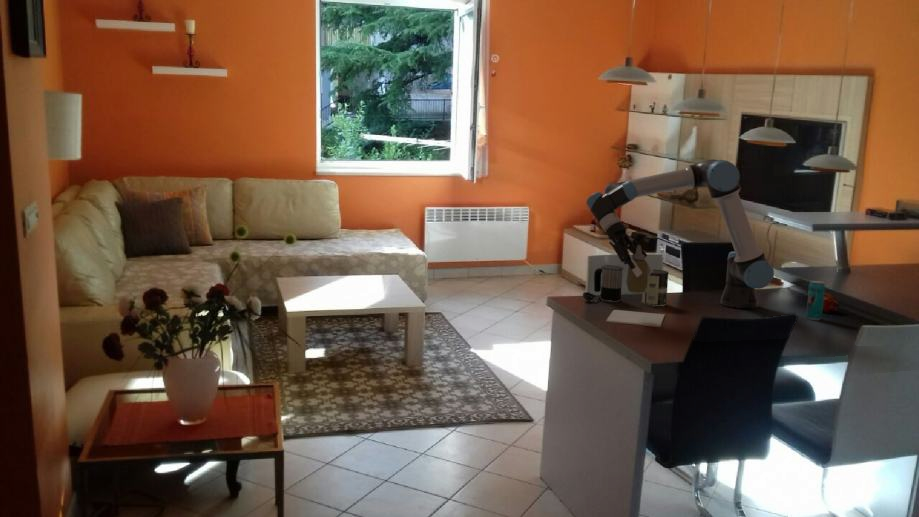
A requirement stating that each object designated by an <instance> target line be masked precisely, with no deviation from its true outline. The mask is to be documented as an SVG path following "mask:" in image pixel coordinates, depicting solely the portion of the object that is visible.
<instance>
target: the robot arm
mask: <svg viewBox="0 0 919 517" xmlns="http://www.w3.org/2000/svg"><path fill="white" fill-rule="evenodd" d="M740 178H741V177H740V171H739V169H738V167H737V166H736V164H734V163H732V162H730V161H728V160H724V159H719V160H718V159H709V160H708V159H707V160H704V161H700V162H697V163H694V164H693V163H692V164H690V165H686V167H685V168H682V169H678V170H672V171H668V172H662V173H659V174H654V175H650V176H649V175H648V176H644V177H638V178H633V179H628V180H625V181H621V182H610V183H609V184H608V183H607V185H606V186H605V188H604V194H603V193H602V192H601V191H598V192H594V193H592V194H591V195H589V197H588V198H587V199H586V206H587V208H588V209H589V210H590V213H591V214H592V215H593V217H594V218H595V219H596V221H597V222H598V224H599V226H600V227H601V228H602V229H603V230H602V231H604V232H605V234H606V236H607V237H608V239H609V240H610V241H609V242H608V244H609V245H610V246H611V247H612V248H613V250H614V251H615V253H616V255H617V256H618V259H620V262H621V263H623V265H627V266H628V267H630V268H631V269H632V271H633V272H634V274H635V275H636V277H639V276H640V275H641V274H642V271H641V270H640V268H639V267H638V266H637V264H636V263H635V261H634V260H633V259H632V256H631V255H630V253H629V251H630V252H631V253H632V255H633V254H635V253H636V249H637V246H638V245H640V244H639V242H638V241H637V240H636V237H635V236H629V235H628V234H627V228H626V227H625V225H624V223H623V222H622V220H621V219H620V217H619V216H618V215H617V213H616V210H617V209H619V208H621V207H623V206H624V205H626V204H628V203H630V202H631V201H633V200H634V199H637V198H639V197H640V198H641V197H644V196H650V195H654V194H659V193H660V194H661V193H665V192H669V191H674V190H675V191H676V190H680V189H684V188H685V189H686V188H690V189H691V190H692V189H697V188H705V189H706V188H707V189H708V192H709V195H710V198H711V199H712V200H715V201H716V202H717V205H718V208H719V211H720V214H721V216H722V219H723V222H724V225H725V227H726V231H727V233H728V236H729V239H730V241H731V243H732V244H731V245H732V247H733V250H734V251H730V252H729V253H728V255H727V265H726V276H725V278H726V280H725V283H726V284H725V287H724V290H723V293H722V294H721V297H720V299H719V300H720V301H719V304H720V303H721V304H722V305H721V304H720V305H721V306H723V305H724V307H727V306H729V307H728V308H732V307H736V308H735V309H741V308H752V309H756V308H758V307H759V300H758V299H759V298H758V296H757V292H756V289H758V290H759V289H763V288H766V287H768V285H769V284H771V282H772V281H773V279H774V276H775V275H774V274H775V271H774V268H773V266H772V265H771V263H770V262H769V261H768V260H767V259H766V255H765V253H764V251H763V249H761V248H759V247H758V246H757V242H756V239H755V236H754V233H753V231H752V229H751V225H750V223H749V219H748V217H747V214H746V212H745V208H744V205H743V203H742V201H741V196H740V195H739V193H740V191H741V189H742V188H741V185H740ZM641 251H642V255H645V259H644V260H645V261H646V262H647V275H650V274H651V273H652V272H653V270H654V269H653V268H652V267H651V265H650V263H649V262H648V261H647V259H646V258H647V256H648V254H647V253H646V251H645V250H644V249H643V248H642V247H641Z"/></svg>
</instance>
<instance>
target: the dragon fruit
mask: <svg viewBox="0 0 919 517" xmlns="http://www.w3.org/2000/svg"><path fill="white" fill-rule="evenodd" d="M839 306H840V303H839V302H838V300H837V298H836V297H835V296H833V295H831V293H829V292H825V291H824V302H823V312H824V313H831V311H836V310H838V308H839Z"/></svg>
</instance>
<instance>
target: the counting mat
mask: <svg viewBox="0 0 919 517" xmlns="http://www.w3.org/2000/svg"><path fill="white" fill-rule="evenodd" d="M665 315H666V314H665V313H664V314H663V313H652V312H642V311H632V310H631V311H629V310H619V309H613V311H611V313H610V315H609V316H608V317H607V318H606V321H605V322H606V323H613V324H614V323H615V324H624V325H625V324H626V325H636V326H645V327H646V326H647V327H656V328H661V326H662V324H663V322H664V319H665V317H666V316H665Z"/></svg>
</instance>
